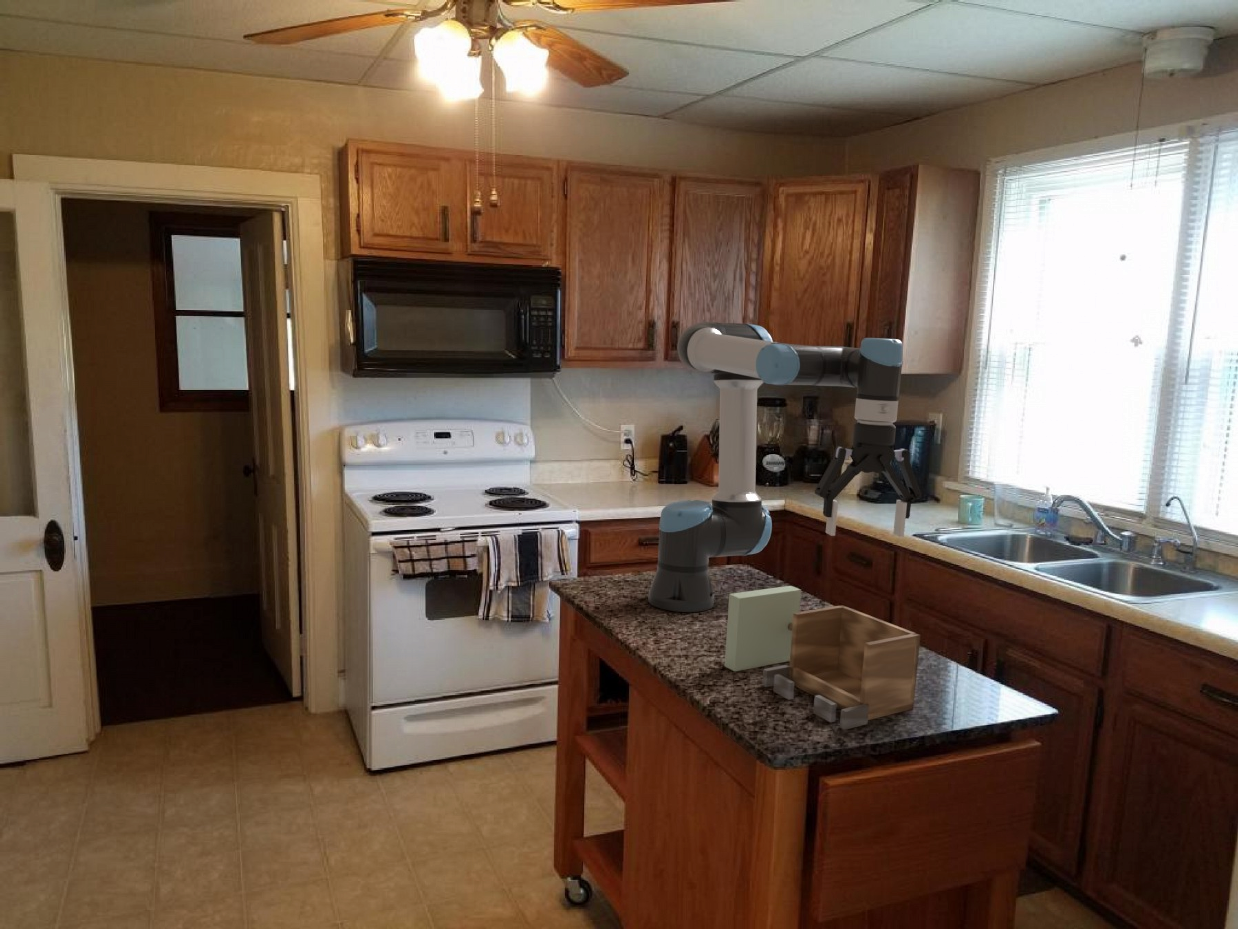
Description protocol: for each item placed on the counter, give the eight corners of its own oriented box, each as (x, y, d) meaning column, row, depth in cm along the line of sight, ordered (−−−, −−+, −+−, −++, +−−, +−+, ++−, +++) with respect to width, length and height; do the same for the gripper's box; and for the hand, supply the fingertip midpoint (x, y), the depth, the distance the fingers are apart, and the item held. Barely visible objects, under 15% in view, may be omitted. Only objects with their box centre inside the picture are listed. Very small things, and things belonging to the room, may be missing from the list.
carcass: (762, 685, 158) (767, 614, 156) (832, 670, 167) (838, 603, 165) (844, 730, 141) (850, 651, 139) (917, 710, 150) (925, 636, 148)
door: (738, 673, 163) (743, 600, 161) (724, 666, 167) (729, 594, 165) (799, 661, 171) (805, 591, 169) (785, 654, 175) (790, 585, 173)
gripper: (818, 422, 159) (808, 538, 162) (948, 426, 163) (936, 540, 166) (803, 418, 166) (794, 529, 169) (927, 422, 170) (916, 531, 173)
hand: (864, 534), depth 167 cm, fingers open, 13 cm apart
